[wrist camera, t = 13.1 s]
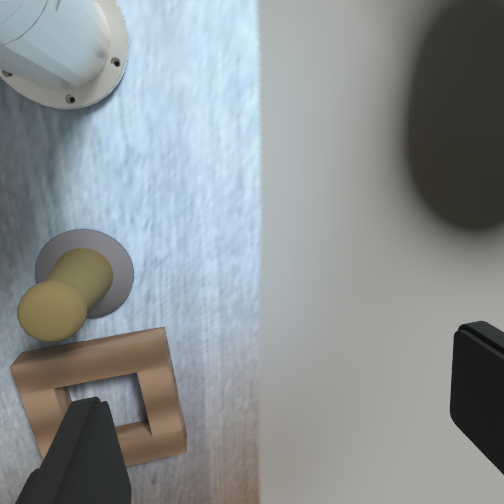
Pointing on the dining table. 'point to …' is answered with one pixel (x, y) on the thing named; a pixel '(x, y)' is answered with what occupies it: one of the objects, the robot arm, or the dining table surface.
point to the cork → (65, 295)
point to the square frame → (100, 367)
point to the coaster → (104, 246)
